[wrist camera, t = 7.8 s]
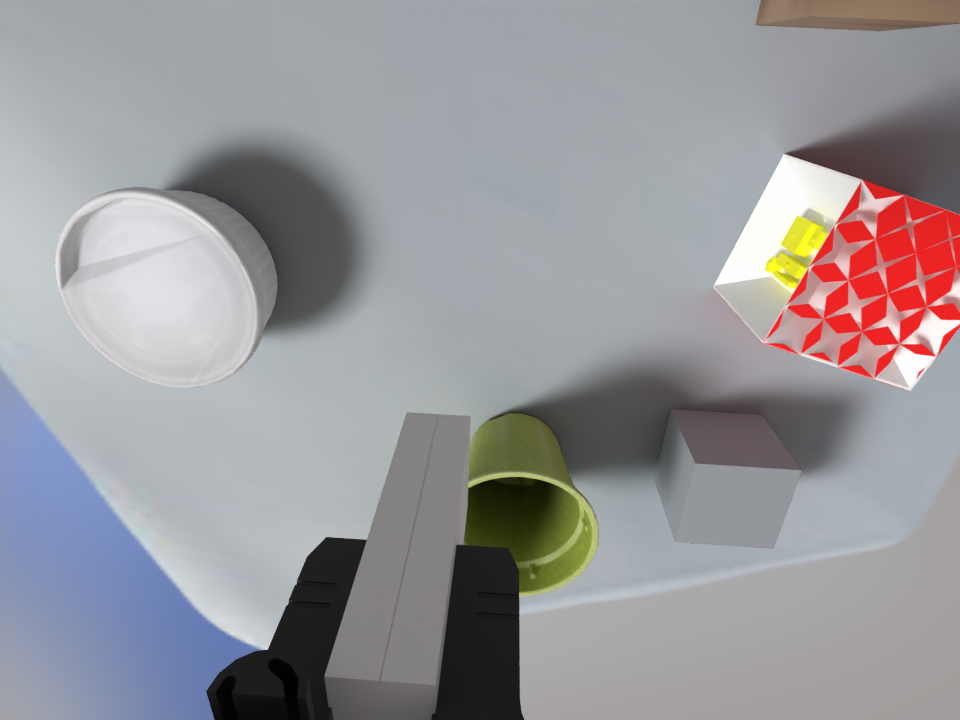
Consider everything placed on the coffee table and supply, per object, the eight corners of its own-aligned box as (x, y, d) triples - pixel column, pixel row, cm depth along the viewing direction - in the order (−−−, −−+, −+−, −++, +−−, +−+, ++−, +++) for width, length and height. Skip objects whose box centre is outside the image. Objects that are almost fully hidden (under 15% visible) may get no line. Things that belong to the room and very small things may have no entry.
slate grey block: (670, 408, 38) (695, 463, 33) (762, 413, 38) (802, 470, 33) (654, 479, 41) (675, 541, 36) (739, 485, 41) (773, 548, 35)
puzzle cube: (783, 153, 31) (862, 179, 24) (914, 199, 31) (1028, 238, 24) (711, 287, 34) (761, 345, 27) (830, 327, 35) (909, 392, 28)
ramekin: (158, 130, 32) (97, 142, 27) (328, 255, 35) (299, 285, 30) (86, 278, 36) (22, 310, 32) (242, 379, 39) (204, 422, 34)
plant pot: (605, 413, 39) (627, 500, 31) (554, 515, 43) (562, 613, 35) (472, 372, 38) (460, 451, 30) (433, 480, 42) (414, 573, 34)
